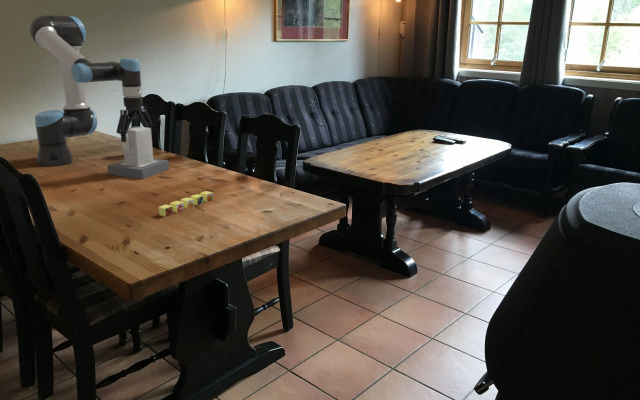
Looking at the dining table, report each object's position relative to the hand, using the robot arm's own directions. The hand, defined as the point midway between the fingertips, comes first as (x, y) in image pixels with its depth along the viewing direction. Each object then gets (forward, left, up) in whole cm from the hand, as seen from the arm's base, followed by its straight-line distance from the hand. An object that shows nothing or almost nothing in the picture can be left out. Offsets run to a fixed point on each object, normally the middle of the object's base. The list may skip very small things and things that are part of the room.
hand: (136, 146), depth 227 cm
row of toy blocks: (+49, -32, -12) cm, 60 cm away
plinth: (0, 0, -11) cm, 11 cm away
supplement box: (0, 0, -7) cm, 7 cm away
